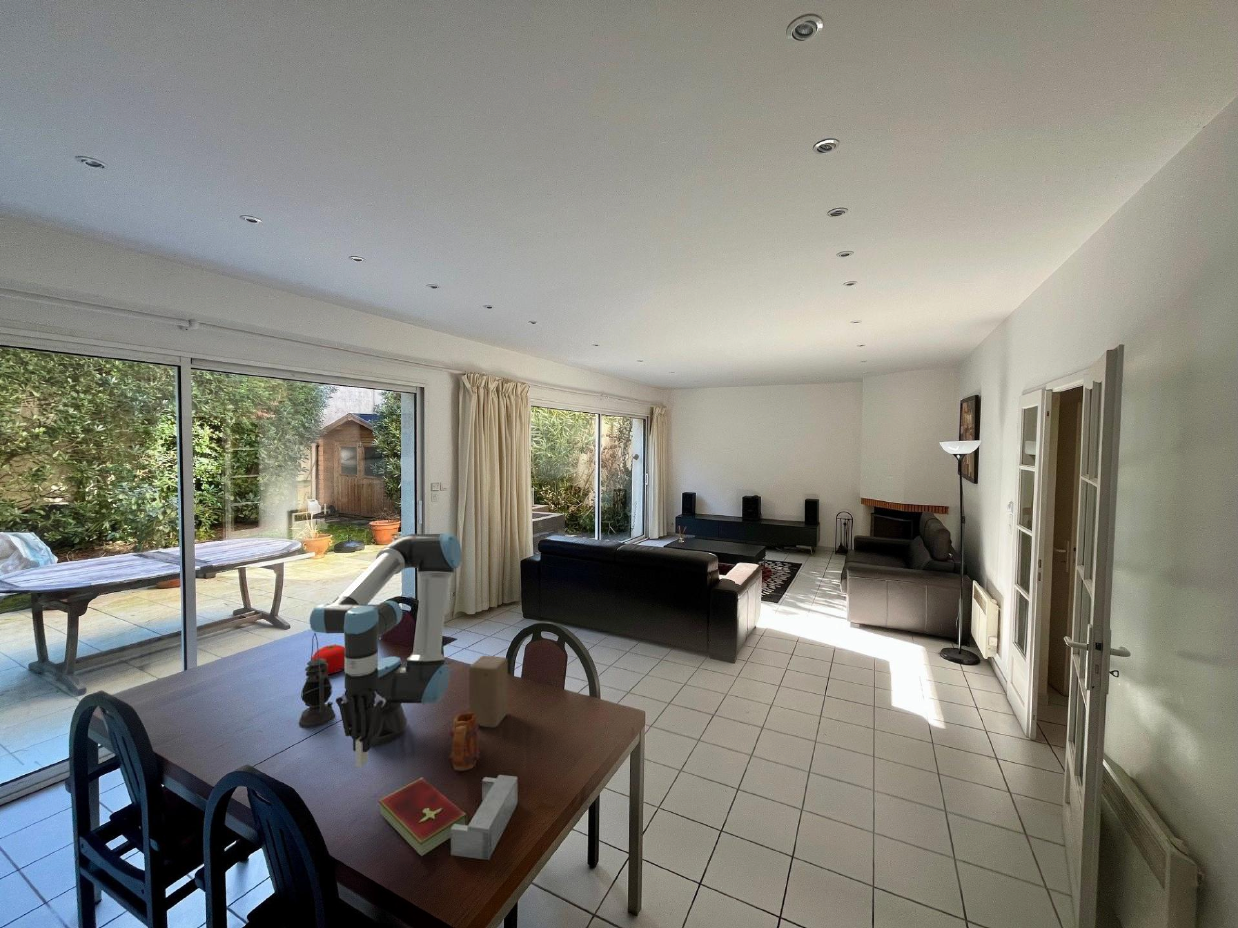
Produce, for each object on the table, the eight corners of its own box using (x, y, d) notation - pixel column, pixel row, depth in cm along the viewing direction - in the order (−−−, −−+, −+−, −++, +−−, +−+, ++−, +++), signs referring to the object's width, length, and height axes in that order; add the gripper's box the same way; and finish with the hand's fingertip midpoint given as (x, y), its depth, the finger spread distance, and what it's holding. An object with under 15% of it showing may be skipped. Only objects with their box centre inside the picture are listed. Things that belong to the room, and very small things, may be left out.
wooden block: (496, 729, 162) (495, 669, 162) (468, 725, 164) (467, 666, 164) (508, 713, 172) (508, 656, 172) (482, 710, 174) (482, 654, 174)
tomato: (335, 679, 198) (335, 653, 198) (304, 678, 198) (303, 653, 198) (355, 663, 212) (354, 639, 212) (325, 663, 213) (325, 639, 212)
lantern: (340, 719, 168) (339, 632, 167) (304, 732, 160) (303, 641, 159) (328, 707, 176) (327, 623, 176) (293, 718, 168) (292, 631, 168)
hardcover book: (423, 790, 133) (423, 775, 133) (467, 828, 120) (467, 811, 120) (378, 815, 124) (378, 799, 124) (420, 860, 111) (420, 841, 110)
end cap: (451, 854, 111) (450, 824, 111) (484, 799, 129) (484, 773, 129) (488, 859, 110) (488, 829, 110) (517, 803, 128) (517, 776, 128)
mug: (454, 756, 148) (454, 706, 147) (482, 754, 148) (482, 705, 148) (441, 789, 133) (441, 734, 133) (472, 787, 134) (471, 732, 134)
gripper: (327, 674, 121) (327, 770, 121) (375, 678, 119) (376, 775, 119) (348, 662, 129) (348, 752, 129) (394, 665, 127) (394, 756, 127)
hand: (361, 763), depth 124 cm, fingers closed
